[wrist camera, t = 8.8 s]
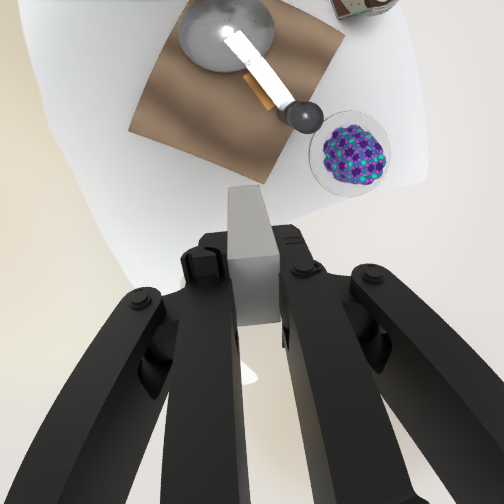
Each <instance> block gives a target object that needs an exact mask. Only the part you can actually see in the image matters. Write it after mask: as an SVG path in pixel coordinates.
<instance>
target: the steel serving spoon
mask: <svg viewBox="0 0 504 504" xmlns="http://www.w3.org/2000/svg"><path fill="white" fill-rule="evenodd" d="M274 33H275V26H274V21H273V18H272V16H271V14H270V12H269V10H268V9H267V8H266V7H265V6H264V5H263V4H262V3H261V2H260V1H259V0H197V1H196V2H195V3H193V4H192V5H191V6H190V7H189V8H188V9H187V11H186V12H185V13H184V15H183V17H182V19H181V21H180V25H179V31H178V35H179V42H180V45H181V47H182V49H183V51H184V52H185V54H186V55H187V56H188V57H189V58H190V59H191V60H192V61H193V62H194V63H196V64H197V65H198V66H200V67H202V68H204V69H206V70H209V71H213V72H219V73H232V72H237V71H241V70H244V69H246V70H247V71H248V72H249V74H250V75H251V76H252V77H253V79H254V80H255V81H256V82H257V84H258V85H259V86H260V87H261V89H262V90H263V91H264V93H265V94H266V95H267V97H268V98H269V99H270V101H271V102H272V103H273V105H274V106H275V107H276V109H277V116H278V118H279V120H280V121H281V122H282V123H284V124H286V125H288V126H290V127H292V128H293V129H295V130H297V131H299V132H301V133H304V134H311V133H314V132H316V131H318V130H319V129H320V128H321V126H322V124H323V121H324V115H323V112H322V110H321V108H320V107H319V106H318V105H316V104H315V103H312V102H307V101H296V100H294V98H293V97H292V95H291V94H290V93H289V91H288V90H287V89H286V87H285V86H284V84H283V83H282V82H281V80H280V79H279V78H278V77H277V75H276V74H275V73H274V71H273V70H272V69H271V67H270V66H269V65H268V64H267V62H266V61H265V60H264V59H263V56H264V55H265V54H266V52H267V51H268V50H269V48H270V46H271V44H272V42H273V39H274Z"/></svg>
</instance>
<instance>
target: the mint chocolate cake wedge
mask: <svg viewBox="0 0 504 504" xmlns="http://www.w3.org/2000/svg"><path fill="white" fill-rule="evenodd" d="M330 1H331V4H332V6H333V9H334V12H335V14H336V17H337V19H342V18H347V17H350V16H353V15H357V14H361V13H364V12H368V11H370V13H369V14H368V15H367V16H375V15H379V14H382V13H384V12H386V11H388V10H389V9H391V8H392V7H393V6H394V5H395V4H396V3H397V2H398V1H399V0H330Z"/></svg>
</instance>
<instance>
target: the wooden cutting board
mask: <svg viewBox="0 0 504 504" xmlns="http://www.w3.org/2000/svg"><path fill="white" fill-rule="evenodd" d="M196 1H197V0H189V2H188V4H187V5H186V7H185V9H184V10H183V12H182V14H181V15H180V17H179V19H178V21H177V23H176V24H175V26H174V28H173V30H172V32H171V34H170V35H169V37H168V39H167V41H166V43H165V45H164V47H163V49H162V51H161V53H160V55H159V57H158V59H157V61H156V63H155V66H154V68H153V70H152V72H151V74H150V77H149V79H148V81H147V84H146V86H145V88H144V91H143V93H142V95H141V98H140V100H139V103H138V105H137V108H136V111H135V113H134V116H133V119H132V121H131V124H130V127H129V130H128V131H129V132H132V133H135V134H138V135H141V136H144V137H147V138H149V139H152V140H155V141H158V142H160V143H163V144H166V145H169V146H171V147H174V148H177V149H179V150H182V151H184V152H187V153H190V154H192V155H195V156H197V157H200V158H202V159H205V160H207V161H210V162H212V163H215V164H217V165H220V166H222V167H224V168H227V169H229V170H232V171H234V172H236V173H239V174H241V175H243V176H246V177H248V178H250V179H253V180H255V181H257V182H259V183H262V184H265V182H266V180H267V178H268V176H269V174H270V172H271V170H272V168H273V167H274V165H275V163H276V161H277V159H278V157H279V155H280V153H281V151H282V150H283V148H284V146H285V144H286V142H287V140H288V138H289V136H290V135H291V133H292V131H293V128H292V127H290V126H288V125H286V124H284V123H282V122H281V121H280V120H279V118H278V116H277V109H276V107H275V106H274V105H273V103H272V102H271V101H270V99H269V98H268V97H267V95H266V94H265V93H264V91H263V90H262V89H261V87H260V86H259V85H258V84H257V82H256V81H255V80H254V79H253V77H252V76H251V75H250V74H249V72H248V71H247V70H246V69H244V70H241V71H237V72H232V73H219V72H213V71H209V70H206V69H204V68H202V67H200V66H198V65H197V64H196V63H194V62H193V61H192V60H191V59H190V58H189V57H188V56H187V55H186V54H185V52H184V51H183V49H182V47H181V45H180V42H179V35H178V31H179V25H180V21H181V19H182V17H183V15H184V13H185V12H186V11H187V9H188V8H189V7H190V6H191V5H192V4H193V3H195V2H196ZM259 1H260V2H261V3H262V4H263V5H264V6H265V7H266V8H267V9H268V10H269V12H270V14H271V16H272V18H273V21H274V26H275V33H274V39H273V42H272V44H271V46H270V48H269V50H268V51H267V52H266V54H265V55H264V56H263V59H264V60H265V61H266V62H267V64H268V65H269V66H270V67H271V69H272V70H273V71H274V73H275V74H276V75H277V77H278V78H279V79H280V80H281V82H282V83H283V84H284V86H285V87H286V89H287V90H288V91H289V93H290V94H291V95H292V97H293V98H294V100H296V101H307V102H308V101H309V99H310V98H311V96H312V94H313V92H314V90H315V88H316V87H317V85H318V83H319V81H320V79H321V78H322V76H323V74H324V72H325V70H326V69H327V67H328V65H329V63H330V61H331V60H332V58H333V56H334V54H335V52H336V51H337V49H338V47H339V45H340V44H341V42H342V40H343V38H344V37H345V35H344V34H343V33H341V32H340V31H338V30H336V29H335V28H333V27H331V26H329V25H328V24H326V23H324V22H322V21H321V20H319V19H317V18H315V17H313V16H311V15H309V14H308V13H306V12H304V11H302V10H300V9H298V8H296V7H294V6H291V5H289V4H287V3H285V2H283V1H281V0H259Z"/></svg>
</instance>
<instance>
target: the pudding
mask: <svg viewBox="0 0 504 504" xmlns="http://www.w3.org/2000/svg"><path fill="white" fill-rule="evenodd" d="M346 124H356V125H350V126H349V127H348V128H346V129H345V128H342V127H340V126H342V125H346ZM357 125H359V126H362V127H364V128H365V129H367V130H368V131H369V132H370V133H371V134H372V135H373V136H372V135H371V134H370V133H369V132H365V131H364V130H363V129H362V128H361V127H359V126H357ZM338 127H340V128H338ZM336 128H337V129H336ZM335 129H336V130H335ZM333 130H335V131H334V132H333V133H332V138H331V139H329V140H327V141H326V142H325V140H326V139H327V137H328V135H329V134H330V133H331V132H332V131H333ZM324 143H325V144H324ZM323 145H324V149H323ZM322 150H323V151H324V153H325V155H326V157H325V160H324V163H323V159H322ZM390 156H391V150H390V143H389V139H388V137H387V134H386V132H385V131H384V129H383V127H382V126H381V125H380V124H379V123H378V122H377V121H376V120H375V119H374V118H372V117H371V116H369V115H367V114H364V113H361V112H356V111H346V112H341V113H338V114H335V115H333V116H331V117H329V118H328V119H327V120H326V121H324V122H323V124H322V126H321V128H320V129H319V130H318V131H316V133H315V134H314V137H313V139H312V142H311V146H310V164H311V168H312V171H313V174H314V175H315V177H316V179H317V181H318V182H319V183H320V184H321V185H322V186H323V187H324V188H325V189H326V190H328V191H329V192H331V193H333V194H336V195H338V196H344V197H354V196H359V195H362V194H365V193H367V192H369V191H370V190H372V189H373V188H374V187H376V186H377V185H378V184H379V183H380V181H381V180H382V179H383V177H384V176H385V174H386V172H387V169H388V167H389V163H390ZM324 165H325V166H324ZM325 167H326V168H325ZM326 169H327V170H328V171H331V172H333V175H334V178H335V179H334V178H333V177H332V176H331V175H330V174H329V173H328V172H327V170H326ZM336 179H337V180H336ZM340 181H342V182H340ZM343 182H347V183H343Z"/></svg>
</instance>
